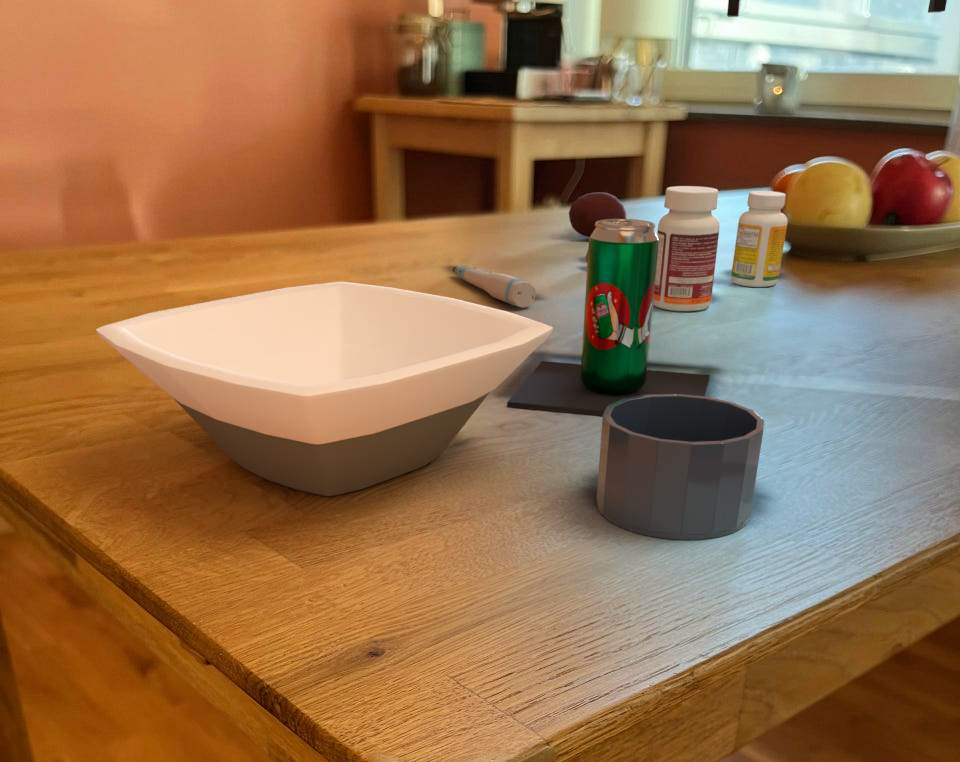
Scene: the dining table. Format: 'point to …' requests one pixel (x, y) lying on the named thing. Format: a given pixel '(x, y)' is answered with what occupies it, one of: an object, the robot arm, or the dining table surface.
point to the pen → (499, 285)
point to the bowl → (329, 376)
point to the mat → (567, 393)
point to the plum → (594, 211)
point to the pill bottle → (687, 249)
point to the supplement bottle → (760, 240)
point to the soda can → (618, 305)
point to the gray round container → (678, 465)
